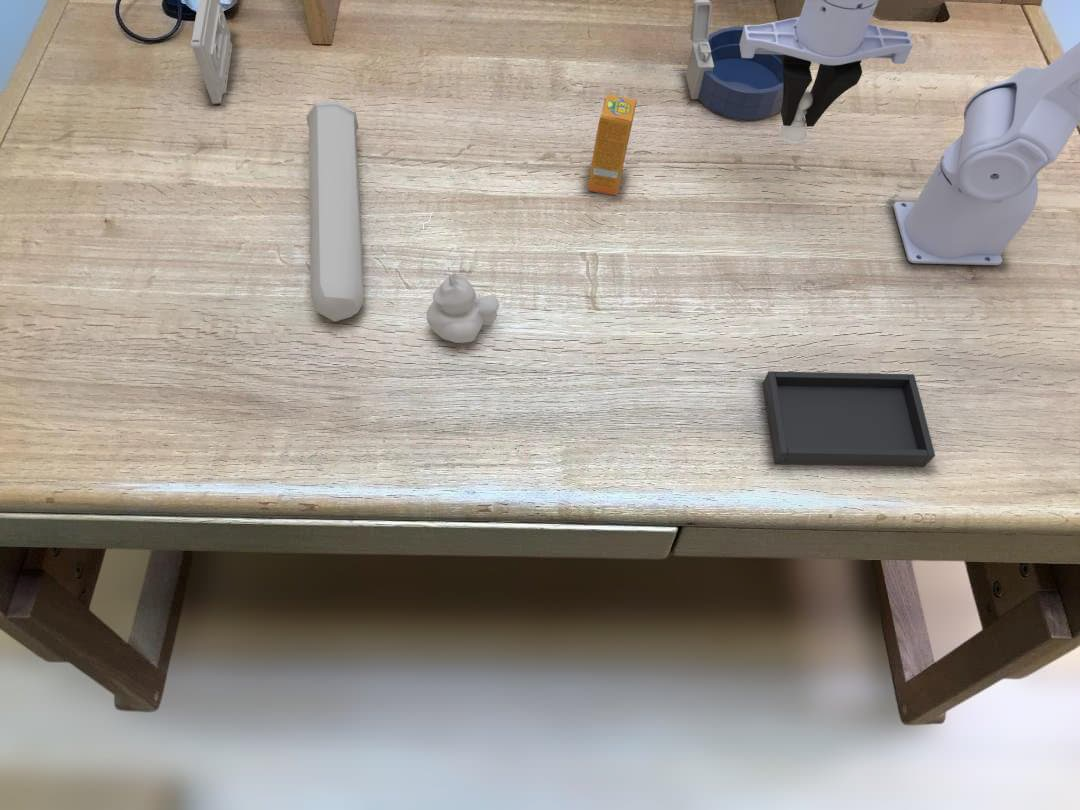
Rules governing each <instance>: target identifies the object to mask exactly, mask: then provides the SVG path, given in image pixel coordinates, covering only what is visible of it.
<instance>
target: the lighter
mask: <svg viewBox="0 0 1080 810" xmlns="http://www.w3.org/2000/svg"><path fill="white" fill-rule="evenodd" d="M712 7H713V3H712V1H710V0H694V1H693V3H692V15H691V16H692V17H691V25H690V37H689V39H690V40H691V42H692V46H691V51H690V54H689V55H690V56H689V60H688V64H687V68H686V74H685V78H686V83H687V88H688V92H689V95H690V99H691V100H699V98H698V95H699V91H700V87H701V83H702V79H703V74H704V71H710V72H711V73H713V69H714V64H713V60H712V56H711V49H710V45H709V42H708V38H709V34H710V28H711V18H712V9H713V8H712Z"/></svg>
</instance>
